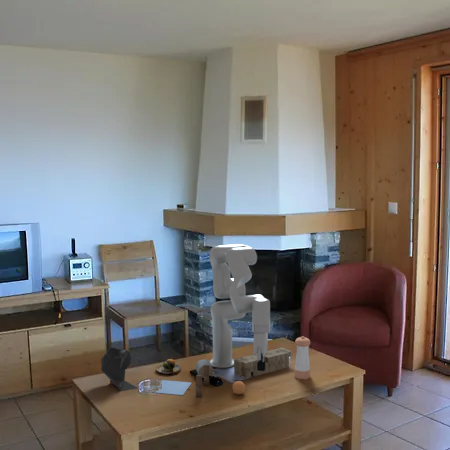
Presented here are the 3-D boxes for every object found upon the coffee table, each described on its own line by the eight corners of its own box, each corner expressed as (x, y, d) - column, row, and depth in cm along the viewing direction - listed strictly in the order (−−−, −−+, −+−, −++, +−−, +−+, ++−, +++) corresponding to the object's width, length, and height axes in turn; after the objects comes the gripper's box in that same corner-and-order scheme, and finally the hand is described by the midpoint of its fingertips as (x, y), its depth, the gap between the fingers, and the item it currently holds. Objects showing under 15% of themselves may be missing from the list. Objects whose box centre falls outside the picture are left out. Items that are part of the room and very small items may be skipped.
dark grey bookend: (129, 376, 261) (128, 338, 259) (138, 388, 247) (137, 348, 246) (98, 381, 255) (97, 343, 253) (106, 393, 241) (105, 353, 240)
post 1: (196, 394, 240) (196, 374, 239) (202, 395, 240) (202, 374, 239) (195, 397, 238) (195, 376, 237) (201, 397, 237) (201, 377, 236)
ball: (233, 390, 245) (233, 378, 244) (246, 391, 244) (246, 379, 243) (231, 395, 239) (231, 383, 239) (243, 396, 238) (243, 384, 238)
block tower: (243, 381, 258) (292, 366, 274) (243, 363, 257) (291, 350, 273) (233, 376, 265) (281, 362, 281) (233, 358, 264) (281, 345, 280)
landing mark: (162, 380, 256) (162, 380, 256) (191, 383, 253) (191, 382, 253) (151, 392, 243) (151, 392, 243) (182, 395, 240) (182, 394, 240)
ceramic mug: (198, 380, 256) (198, 365, 255) (195, 374, 264) (195, 359, 263) (220, 379, 258) (220, 363, 258) (216, 373, 266) (217, 358, 265)
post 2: (204, 383, 253) (204, 364, 252) (209, 384, 252) (209, 364, 251) (202, 385, 250) (202, 366, 249) (208, 386, 250) (208, 366, 249)
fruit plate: (154, 368, 272) (153, 353, 271) (177, 366, 276) (177, 351, 275) (159, 377, 261) (158, 362, 260) (183, 374, 264) (183, 359, 264)
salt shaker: (305, 372, 266) (305, 333, 264) (313, 378, 259) (313, 337, 257) (291, 374, 263) (292, 335, 261) (299, 380, 257) (299, 339, 255)
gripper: (255, 322, 244) (255, 363, 246) (249, 332, 230) (249, 375, 231) (272, 323, 243) (272, 365, 244) (267, 333, 228) (267, 377, 230)
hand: (261, 370), depth 238 cm, fingers closed
